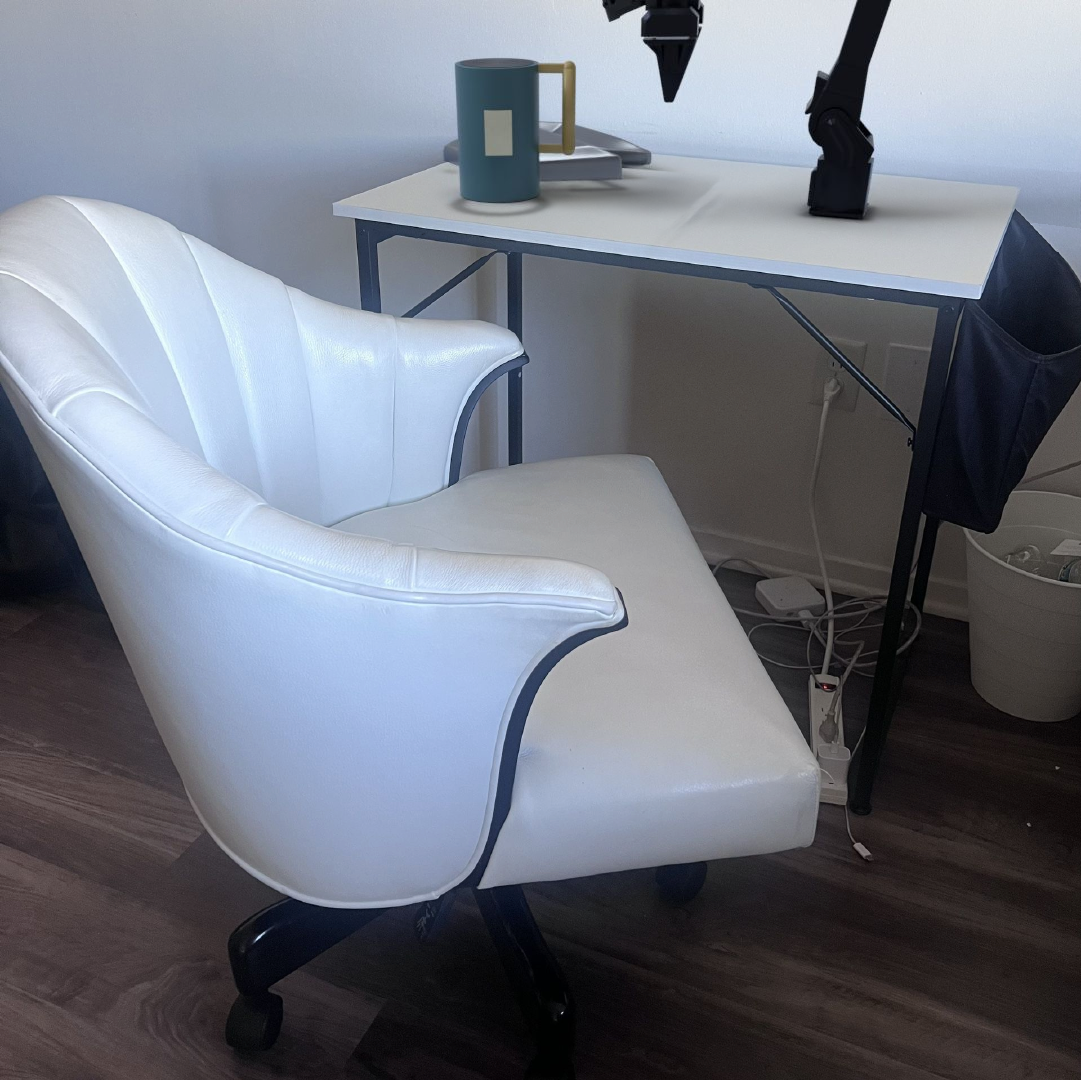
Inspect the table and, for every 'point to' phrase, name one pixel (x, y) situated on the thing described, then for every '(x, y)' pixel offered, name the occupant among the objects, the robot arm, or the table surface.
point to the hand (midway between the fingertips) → (671, 96)
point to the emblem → (579, 155)
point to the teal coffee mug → (506, 126)
